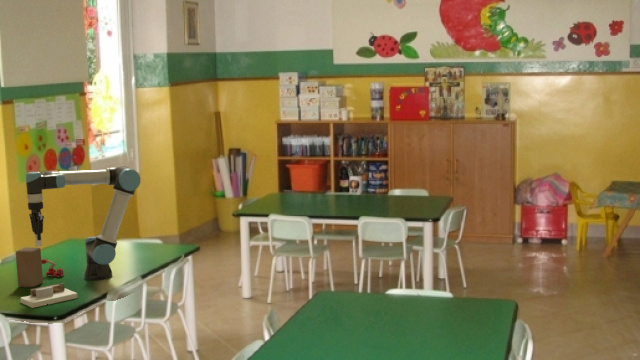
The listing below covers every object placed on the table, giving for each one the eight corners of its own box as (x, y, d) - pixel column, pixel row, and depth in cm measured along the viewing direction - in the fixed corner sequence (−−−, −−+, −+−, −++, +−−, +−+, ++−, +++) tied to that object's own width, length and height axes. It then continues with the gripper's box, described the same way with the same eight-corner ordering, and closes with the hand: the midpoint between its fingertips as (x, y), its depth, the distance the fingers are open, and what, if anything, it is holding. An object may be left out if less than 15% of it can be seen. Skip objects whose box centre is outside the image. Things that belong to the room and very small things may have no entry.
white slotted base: (65, 292, 450) (64, 280, 449) (77, 297, 439) (76, 285, 439) (20, 302, 434) (19, 289, 433) (32, 307, 424) (31, 295, 423)
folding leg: (63, 288, 447) (62, 282, 447) (65, 290, 445) (65, 283, 444) (30, 295, 437) (30, 288, 436) (32, 296, 435) (32, 290, 434)
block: (34, 287, 462) (31, 251, 460) (17, 287, 464) (14, 251, 462) (43, 282, 472) (41, 247, 469) (27, 282, 474) (24, 247, 471)
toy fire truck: (61, 277, 483) (59, 260, 482) (40, 276, 488) (39, 259, 486) (64, 276, 486) (63, 259, 485) (44, 274, 491) (43, 258, 489)
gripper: (23, 201, 451) (26, 245, 454) (33, 203, 441) (37, 249, 444) (37, 199, 456) (40, 243, 459) (47, 202, 446) (50, 246, 449)
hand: (38, 245), depth 452 cm, fingers closed
